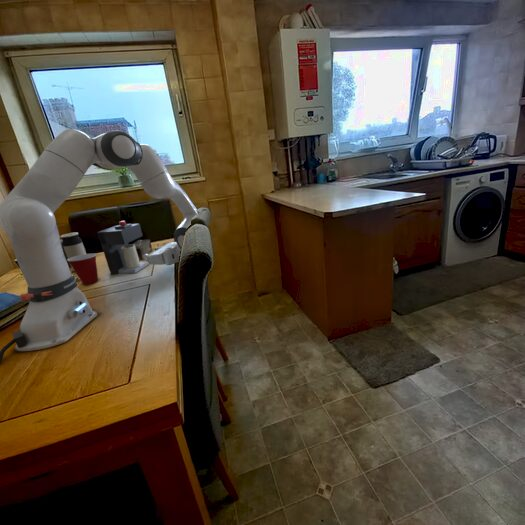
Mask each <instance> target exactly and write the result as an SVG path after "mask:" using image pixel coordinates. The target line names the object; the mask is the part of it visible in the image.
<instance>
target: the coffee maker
mask: <svg viewBox="0 0 525 525" xmlns="http://www.w3.org/2000/svg"><path fill="white" fill-rule="evenodd" d="M143 235H144V234H143V232H142V228H141V224H140V223H126V225H122V226H121V225H120V224H117V225H113V226H111V227H108V228H105V229H103V230H100V231H97V237H98V239H99V242H100V245H101V248H102V252H103V255H104V258H105V260H106V261H105V262H106V264H107V266H108V270H109V272H110V275H113V276H114V275H115V276H116V275H118V274H137V273H138V272H139V271H141V270H143V269H145V268H146V267H147V266H148V265H149V264H148V262H147V261H139V262H140V265H139V266H137V267H134V268H127V267H126V264H125V261H124V257H123V254H122V251H121V247H123V246H126V245H130V244H129V243H131V242H133V241H135V240H138V239H140V238H141V237H143Z"/></svg>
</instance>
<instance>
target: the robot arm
mask: <svg viewBox="0 0 525 525" xmlns="http://www.w3.org/2000/svg"><path fill="white" fill-rule="evenodd" d="M91 166H94V167H96V168H98V169H102V170H106V171H113V170H120V169H122V168H127V169H128V170H130V171H131V172H132V173H133V175H134V176H135V178H136V179H137V181H138V182H139V184H140V186H141V188H142V189H143V191H144V192H145V193H146V194H147V195H148V196H149V197H151V198H153V199H158V200H162V199H169V200H171V201H172V202H173V203H174V204H175V206H176V207H177V209H178V210H179V211H180V212H181V214H182V216H183V220H182V221H181V223H180V224H178V226H177V227H176V229H175V231H174V232H173V237H174V241H170V242H167V243H166V244H164V245H162V246H156V247H155V248H154V251H152V252H151V253H147V254H144V255H143V260H146V262H148V265H153V266H162V265H165V266H171V265H174V264H177V263H180V262H179V256H180V251H181V247H182V243H183V239H184V235H185V232H186V230H187V228H188V227H189V226H190V225H191V220H192V218H193V217H194V216H195V215H197V214H199V213H201V212H200V211H199V210H198V208H197V207H196V206H195V204H194V203H193V201H192V200H191V199H190V197H189V196H188V194H187V193H186V191H185V190H184V188H183V187H182V186H181V185H180V184H179V183H178V182H177V181H176V180H175V178H173V176H171V174H170V173H169V171H168V169H167V167H166V165H165V164H164V162H163V161H162V159H161V158H160V157H159V155H158V153H156V151H155V150H154V149H153V147H151V146H150V145H149V144H146V143H139V142H138V141H137V140H136V139H134V137H133V136H131V135H130V134H129V133H128V132H126V131H122V130H118V129H117V130H113V129H112V130H109V131H107V132H105V133H101V134H99V135H97V136H96V137H90V136H89V135H87V134H86V133H85V132H83V131H81V130H78V129H76V128H66V129H64V130H63V131H62V132H60V133H59V134H58V135H57V136H55V137H54V139H53V140H52V141H51V142H50V143H49V144H48V145H47V146H46V147H45V149H44V150H43V151H42V153H41V154H40V155H39V157H37V159H36V160H35V162H34V163H33V164H32V166H31V167H30V169H29V170H28V171H27V172H26V174H25V175H24V176H23V177H22V178H21V179H20V180H19V181H18V182H17V184H16V185H15V186H14V187H13V188H12V189H11V190H10V192H9V193H8V194H7V195H6V197H5V198H4V199H3V200H2V202H1V203H0V229H2V230H3V231H5V233H6V235H7V237H8V239H9V242H10V244H11V247H12V250H13V253H14V255H15V256H14V257H15V259H16V262H17V265H18V267H19V269H20V271H21V273H22V276H23V278H24V280H25V282H26V284H27V293H20V294H19V300H20V301H21V302H24V301H28V302H29V303H28V305H27V308H26V310H25V312H24V315H23V317H22V320H21V322H20V324H19V330H16V331H14V332H12V336H13V337H12V338H13V339H11V340H10V341H9V342H8V343H6V344H5V345H4V346H3V347H2V348H1V349H0V363H1V362H2V360H3V358H4V354H5V353H6V351H7V350H8V349H10V347H12V346H13V345H14V344H15V346H14V349H15V351H17V352H32V351H39V350H45V349H48V348H53V347H56V346H58V345H59V346H60V345H61V344H65V343H66V342H68V341H69V340H70V339H72V338H73V337H74V336H75V335H76V334H78V332H80V331H81V330H82V329H83V328H84V327H86V326H87V325H88V324H89V323H91V321H93V320H94V319H95V318H97V317H98V315H99V314H98V313H97V311H96V310H93V309H92V306H91V304H90V302H89V301H88V298H87V297H86V294H85V293H84V291H83V292H82V290H81V289H79V288H78V283H77V278H76V277H75V276H74V274H73V273H72V271H71V269H70V267H69V266H68V264H67V261H66V258H65V256H64V253H63V250H62V245H61V240H62V239H61V237H60V236H61V235H60V232H59V229H58V225H57V220H56V217H55V214H54V213H55V212H56V211H57V209H59V208H60V207H61V205H62V204H63V203H64V202H66V200H68V198H70V196H71V195H72V194H73V192H74V190H75V189H76V188H77V187H78V185H79V183H80V182H81V180H82V179H83V178H84V176H85V175H86V173H87V172H88V169H90V168H91Z"/></svg>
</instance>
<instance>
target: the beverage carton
mask: <svg viewBox="0 0 525 525" xmlns="http://www.w3.org/2000/svg"><path fill="white" fill-rule="evenodd" d="M131 245H135V247H136V251H137V254H138V258H139V260H142V259H143V255H144V254H149V253H150V252H151V251H152V250H153V246H152V241H151V239H137V240H136V241H135V242H134V243H132V244H131ZM143 260H144V259H143Z"/></svg>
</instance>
